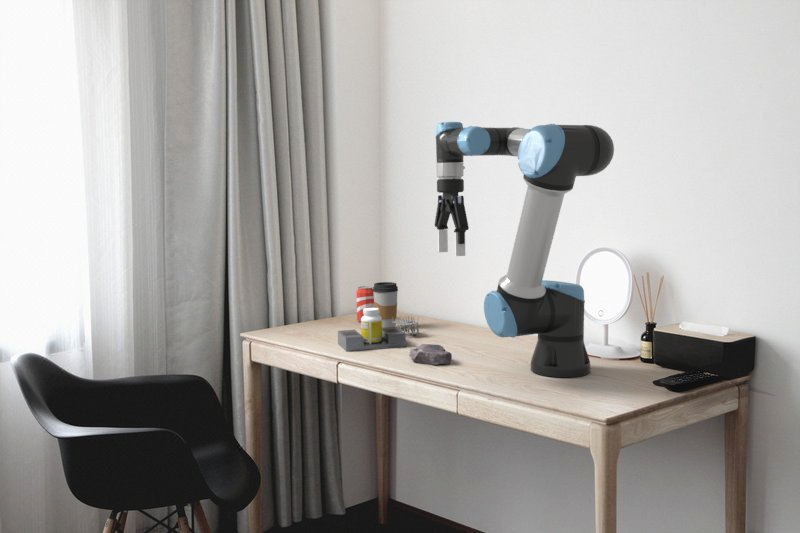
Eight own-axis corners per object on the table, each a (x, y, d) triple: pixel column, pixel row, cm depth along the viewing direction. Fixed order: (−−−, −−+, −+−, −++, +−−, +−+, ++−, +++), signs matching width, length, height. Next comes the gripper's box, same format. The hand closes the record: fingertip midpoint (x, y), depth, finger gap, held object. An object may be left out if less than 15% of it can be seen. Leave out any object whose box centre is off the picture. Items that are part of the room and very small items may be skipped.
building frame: (408, 332, 267) (408, 314, 266) (421, 337, 260) (421, 318, 259) (391, 335, 264) (391, 316, 263) (404, 339, 257) (404, 320, 256)
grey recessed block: (405, 346, 246) (405, 333, 245) (346, 351, 241) (345, 337, 240) (395, 339, 256) (394, 326, 256) (338, 343, 251) (337, 330, 251)
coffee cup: (369, 327, 275) (368, 283, 274) (392, 325, 279) (391, 281, 277) (379, 332, 268) (378, 286, 266) (402, 329, 271) (402, 284, 270)
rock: (438, 368, 220) (438, 351, 219) (405, 362, 227) (405, 345, 226) (457, 362, 226) (457, 346, 225) (424, 357, 233) (424, 341, 233)
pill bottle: (383, 343, 251) (382, 307, 250) (380, 347, 245) (380, 310, 244) (363, 343, 252) (362, 307, 250) (360, 347, 246) (359, 310, 244)
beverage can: (367, 319, 291) (366, 285, 290) (378, 321, 286) (377, 287, 285) (353, 321, 287) (352, 287, 286) (364, 323, 282) (363, 289, 281)
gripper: (480, 177, 222) (481, 256, 224) (447, 178, 245) (448, 249, 247) (453, 178, 219) (454, 258, 222) (422, 178, 243) (424, 251, 245)
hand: (451, 254), depth 234 cm, fingers open, 13 cm apart
